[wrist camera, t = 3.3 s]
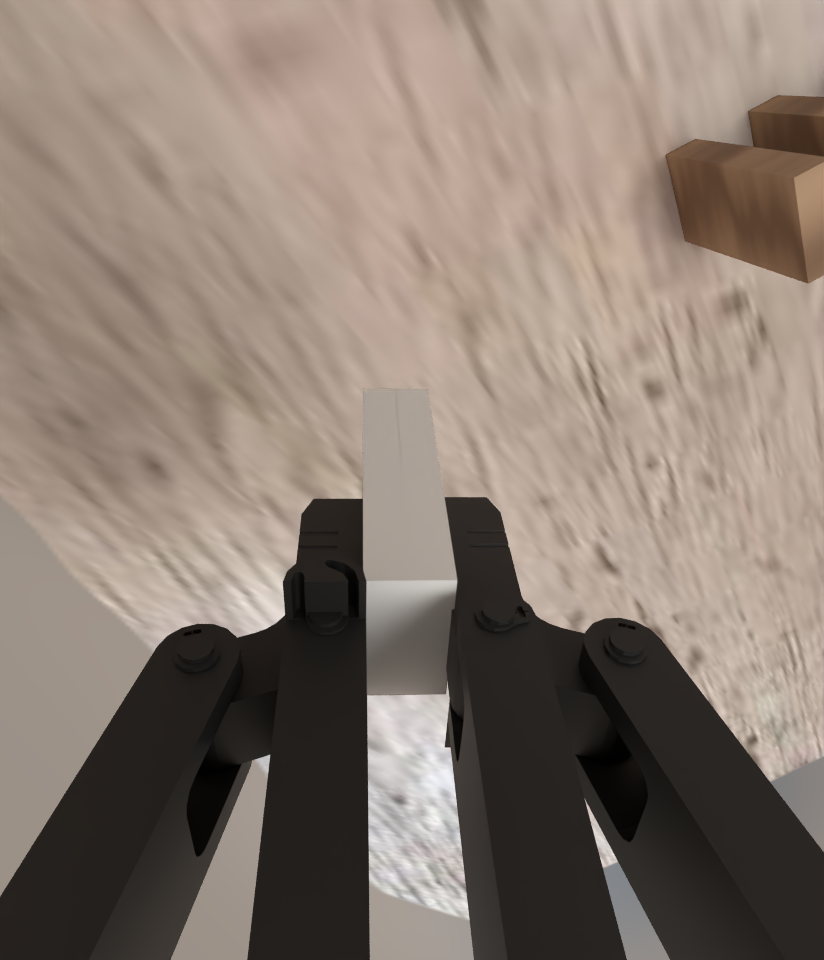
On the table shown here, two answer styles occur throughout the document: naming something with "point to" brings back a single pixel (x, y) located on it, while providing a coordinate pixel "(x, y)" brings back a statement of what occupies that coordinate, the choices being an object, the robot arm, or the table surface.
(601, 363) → the table surface
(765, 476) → the table surface
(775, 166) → the domino
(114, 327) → the table surface
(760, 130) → the domino
